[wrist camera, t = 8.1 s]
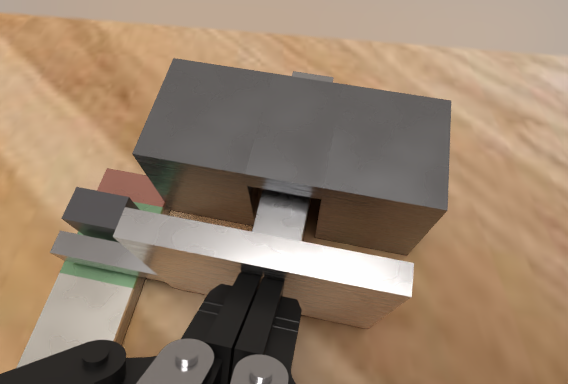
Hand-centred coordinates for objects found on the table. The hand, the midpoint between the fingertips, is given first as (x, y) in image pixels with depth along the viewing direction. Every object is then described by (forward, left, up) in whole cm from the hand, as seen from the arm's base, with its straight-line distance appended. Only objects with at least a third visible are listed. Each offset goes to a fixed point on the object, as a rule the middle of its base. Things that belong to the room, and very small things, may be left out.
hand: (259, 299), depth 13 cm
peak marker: (+8, -3, -4) cm, 9 cm away
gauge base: (+2, -2, -5) cm, 6 cm away
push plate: (+3, -6, -5) cm, 8 cm away
